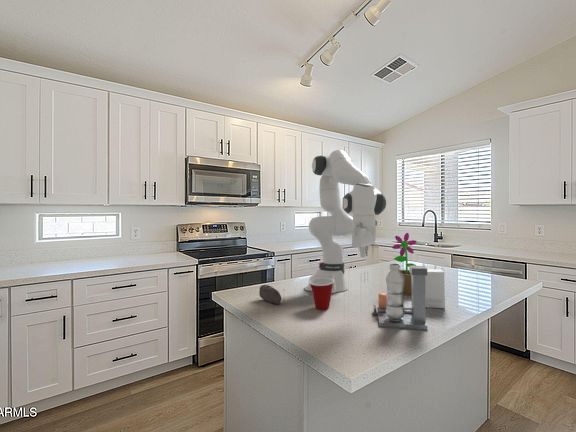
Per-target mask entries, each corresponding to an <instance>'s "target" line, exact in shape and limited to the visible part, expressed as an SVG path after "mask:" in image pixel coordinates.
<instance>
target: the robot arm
mask: <svg viewBox="0 0 576 432" xmlns="http://www.w3.org/2000/svg"><path fill="white" fill-rule="evenodd" d="M311 169H312V173H313V174H314V175H316V176H320V178H319V187H318V188H319V190H318V191H319V200H320V203H319V204H320V207H321V208H322V209H323V211H325V212H327V213H329V214H330V215H329V216H328V215H326V216H325V215H319V216H316V217H312V218H311V219H310V221H309V223H308V230H309V233H310V234H311V235H312V236H313V237H315V239H316V240H317V241H318V242H319V244H320V246H321V252H322V253H321V254H322V261H319V262H318V268H319V269H318V270H316V271H315V272H314V273H312V274H311V275H310V277H309V279H308V283H306V284H305V285H304V290H305V291H308V292H309V291H310V292H312V288H311V285H310V283H309V281H310V280H312V279H316V278H331V279H333V280H334V283H333V286H332V292H331V294H335V293H340V292H345V291H347V290H348V288H347V283H346V277H345V271H346V264H345V261H344V259H345V258H344V248H343V246H342V245H341V244H339V243H337V242H334V240H333V237H347V236H351V246H352V248H353V249H355V248H357V249H358V250H359V253H360V255H359V256H360V258H366V257H368V256H369V250H370V245H372V244H375V242H376V237H377V236H376V235H377V226H378V221H377V220H376V216H379V215H380V214H381V213H382V212H384V211H385V209H386V208H387V207H386V206H387V199H386V197H385V196H384V194H383V193H382V192H381V191H379V190H378V189H377V187H376V186H375V185H374V183H373V182H372V180H371V179H370V178H369V177H368V175H367V174H366V173H365V172H363V171H362V170H360V169H359V168H358V167H356V166H355V164H354V163H353V161H352V159H351V158H350V157H349V155H348V154H347V153H346V151H344V150H342V149H335V150H333V151H332V152H331V153H330V154H329V155H318V156H315V157H314V158H313V159H312V164H311ZM339 183H340V184H342V185H348V186H353V187H352V190H350V192H347V193H346V194H344V196H343V197H342V199H341V193H340V186H339ZM351 215H352V216H351Z"/></svg>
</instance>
